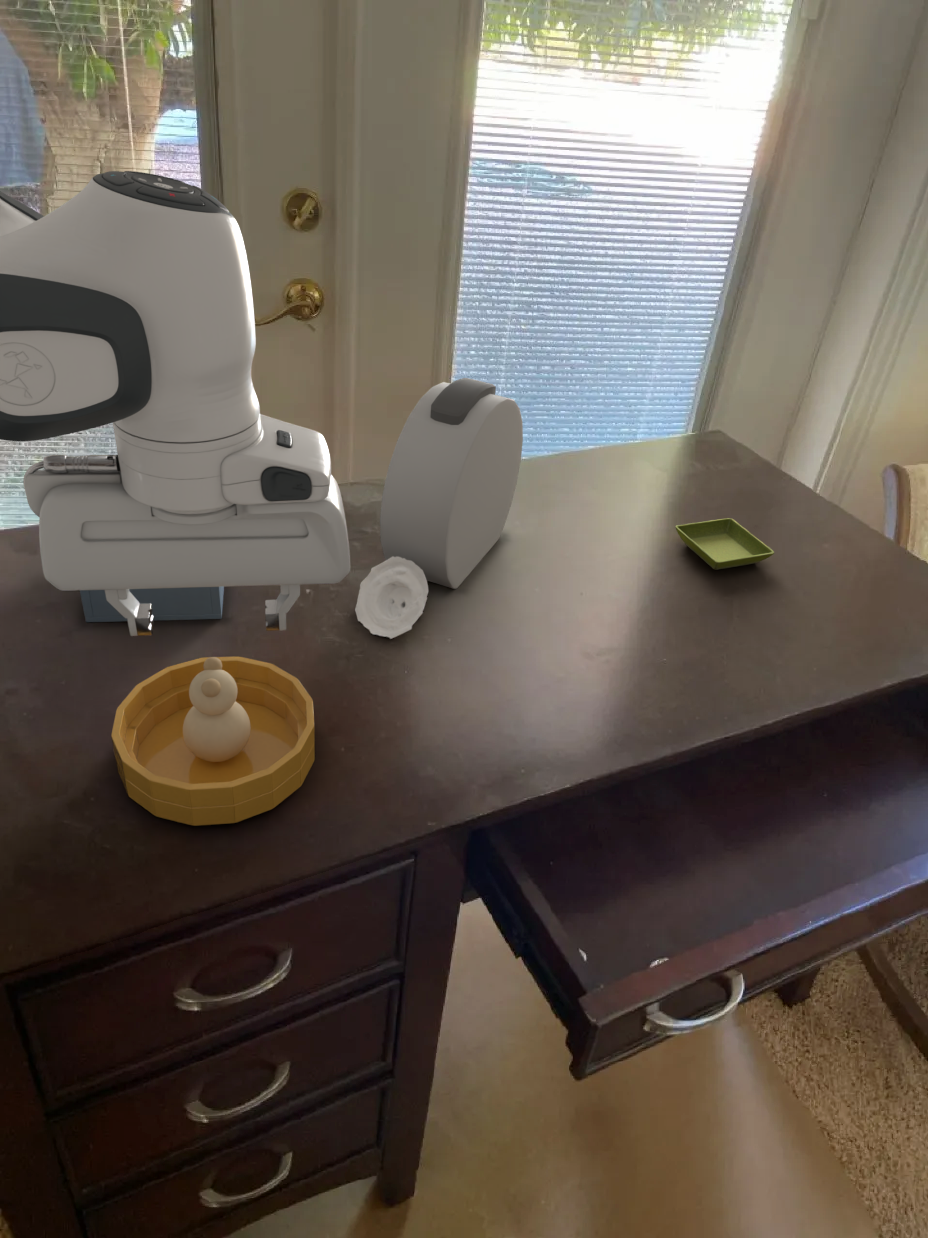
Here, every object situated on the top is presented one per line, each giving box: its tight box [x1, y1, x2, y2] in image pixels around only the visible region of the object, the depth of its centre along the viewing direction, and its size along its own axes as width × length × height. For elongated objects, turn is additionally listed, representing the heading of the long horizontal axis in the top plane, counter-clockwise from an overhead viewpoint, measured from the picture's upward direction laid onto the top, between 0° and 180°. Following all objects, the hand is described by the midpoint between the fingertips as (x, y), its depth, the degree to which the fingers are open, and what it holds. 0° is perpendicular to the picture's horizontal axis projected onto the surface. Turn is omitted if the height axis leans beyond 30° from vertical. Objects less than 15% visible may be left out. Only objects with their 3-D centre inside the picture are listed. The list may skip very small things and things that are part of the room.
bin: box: [79, 587, 225, 623], centre depth 90 cm, size 13×14×7 cm
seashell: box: [354, 557, 429, 640], centre depth 89 cm, size 8×5×8 cm
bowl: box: [110, 656, 316, 827], centre depth 71 cm, size 15×15×4 cm
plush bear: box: [183, 656, 251, 762], centre depth 70 cm, size 5×5×9 cm
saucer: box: [674, 517, 775, 571], centre depth 106 cm, size 9×9×2 cm
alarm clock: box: [379, 377, 524, 590], centre depth 96 cm, size 21×8×20 cm, turn 156°
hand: (210, 628), depth 65 cm, fingers open, 8 cm apart
